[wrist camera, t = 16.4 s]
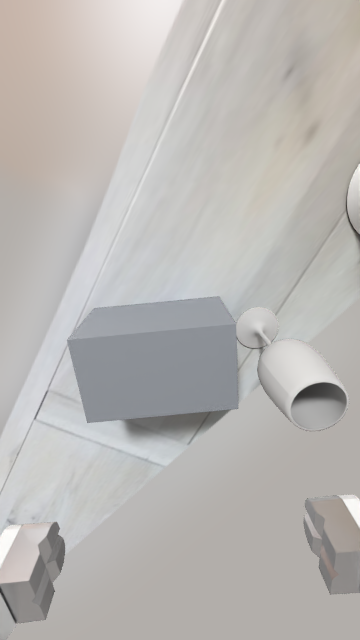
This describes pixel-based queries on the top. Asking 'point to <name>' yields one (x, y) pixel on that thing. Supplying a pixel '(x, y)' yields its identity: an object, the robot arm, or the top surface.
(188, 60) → the top surface
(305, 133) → the top surface
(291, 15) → the top surface
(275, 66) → the top surface
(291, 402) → the wineglass
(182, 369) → the grey cover
